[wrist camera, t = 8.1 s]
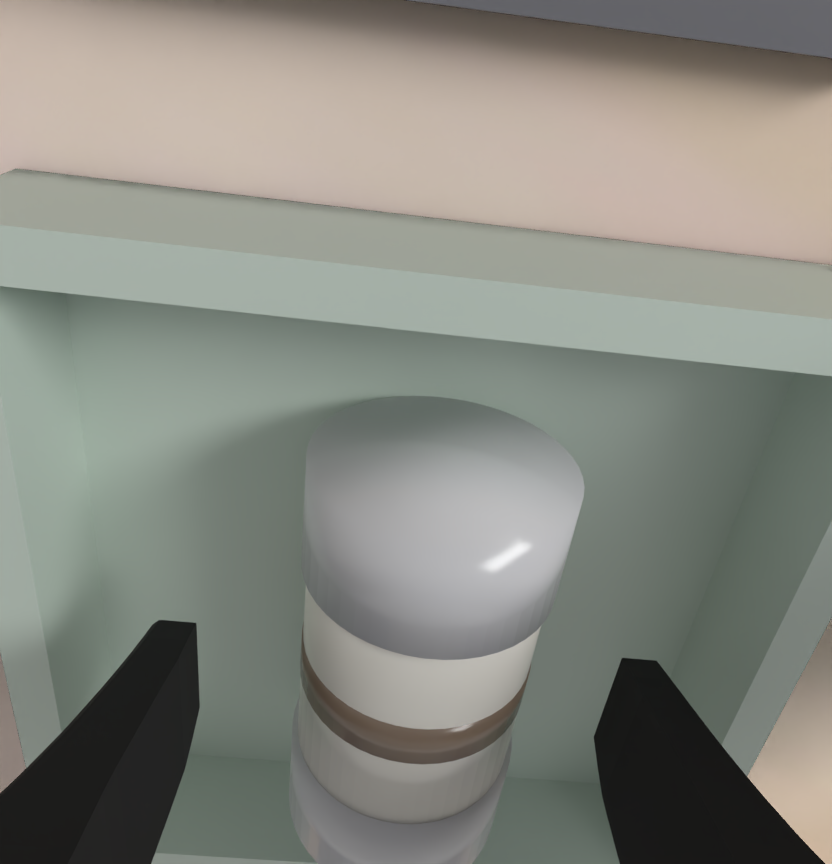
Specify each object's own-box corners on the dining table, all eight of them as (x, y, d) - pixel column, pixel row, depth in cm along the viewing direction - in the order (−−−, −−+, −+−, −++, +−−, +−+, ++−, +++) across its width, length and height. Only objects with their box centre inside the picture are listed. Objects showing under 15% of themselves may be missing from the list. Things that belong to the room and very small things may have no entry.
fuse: (547, 404, 13) (622, 554, 10) (477, 706, 17) (512, 893, 14) (312, 387, 13) (297, 540, 9) (295, 704, 17) (281, 898, 13)
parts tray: (863, 268, 13) (981, 336, 10) (642, 785, 19) (678, 906, 17) (16, 168, 12) (-98, 214, 9) (99, 747, 19) (48, 867, 16)
